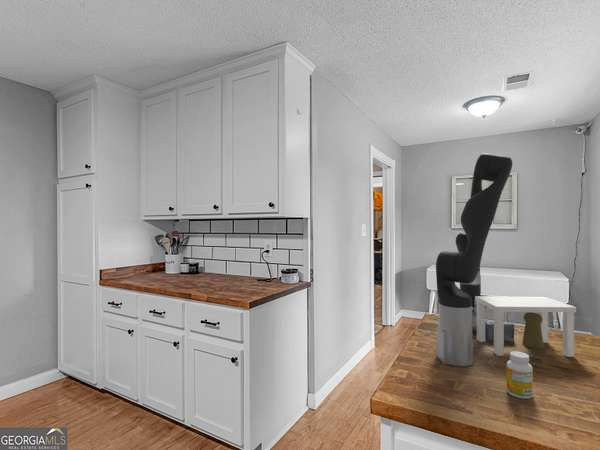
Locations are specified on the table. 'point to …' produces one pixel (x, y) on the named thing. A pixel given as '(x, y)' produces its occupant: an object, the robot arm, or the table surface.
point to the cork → (533, 331)
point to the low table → (524, 305)
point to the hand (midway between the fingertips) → (470, 324)
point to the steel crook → (490, 329)
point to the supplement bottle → (519, 375)
